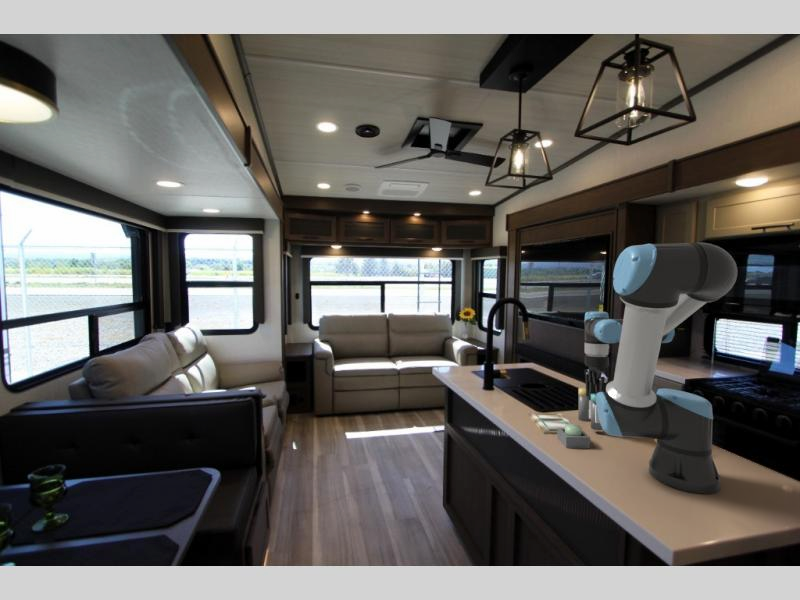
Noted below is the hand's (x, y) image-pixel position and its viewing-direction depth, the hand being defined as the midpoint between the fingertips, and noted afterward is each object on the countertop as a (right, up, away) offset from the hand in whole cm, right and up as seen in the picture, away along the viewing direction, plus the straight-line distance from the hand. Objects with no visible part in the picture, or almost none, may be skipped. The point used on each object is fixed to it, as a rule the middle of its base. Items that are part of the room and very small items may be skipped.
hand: (596, 420), depth 127 cm
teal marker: (0, -3, 0) cm, 3 cm away
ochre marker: (+2, -4, +13) cm, 13 cm away
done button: (-12, -3, -8) cm, 15 cm away
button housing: (-12, -5, -8) cm, 15 cm away
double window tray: (-12, -4, +8) cm, 15 cm away
